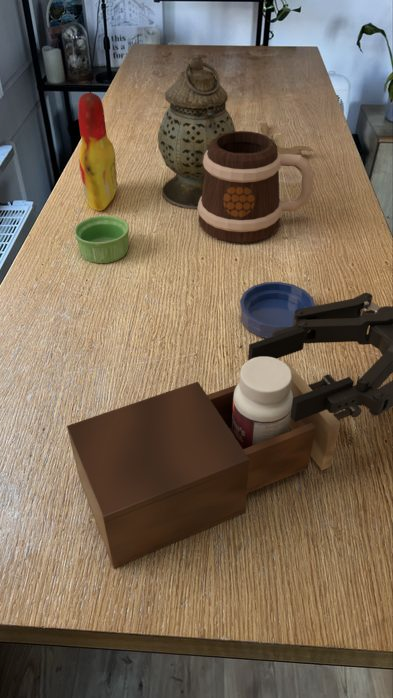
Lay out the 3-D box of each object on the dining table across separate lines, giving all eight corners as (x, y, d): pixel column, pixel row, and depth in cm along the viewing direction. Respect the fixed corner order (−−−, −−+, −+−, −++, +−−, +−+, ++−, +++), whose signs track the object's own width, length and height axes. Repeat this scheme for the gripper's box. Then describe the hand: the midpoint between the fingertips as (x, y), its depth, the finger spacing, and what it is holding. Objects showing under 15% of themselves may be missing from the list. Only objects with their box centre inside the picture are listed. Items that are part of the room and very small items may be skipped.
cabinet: (198, 435, 70) (197, 381, 64) (245, 512, 62) (249, 459, 56) (79, 479, 65) (66, 425, 59) (113, 568, 57) (102, 517, 51)
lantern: (235, 178, 120) (240, 44, 103) (231, 212, 109) (236, 69, 92) (166, 175, 121) (160, 42, 104) (156, 209, 110) (148, 67, 93)
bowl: (327, 328, 84) (329, 314, 82) (262, 349, 81) (263, 335, 79) (288, 288, 91) (289, 275, 89) (227, 307, 88) (227, 293, 86)
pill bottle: (224, 430, 68) (227, 357, 60) (275, 419, 69) (283, 347, 61) (240, 472, 63) (245, 400, 56) (294, 461, 64) (306, 388, 57)
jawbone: (278, 169, 123) (278, 160, 122) (230, 136, 137) (230, 127, 136) (314, 157, 126) (314, 148, 125) (264, 126, 140) (263, 117, 138)
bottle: (111, 216, 108) (99, 106, 95) (78, 215, 109) (60, 105, 95) (123, 187, 117) (112, 82, 104) (91, 186, 118) (77, 81, 104)
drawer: (315, 391, 74) (323, 348, 69) (366, 451, 66) (379, 407, 62) (181, 441, 68) (179, 397, 63) (221, 512, 61) (223, 469, 56)
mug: (196, 246, 101) (195, 162, 91) (198, 203, 112) (198, 124, 102) (313, 246, 100) (325, 162, 90) (303, 204, 111) (313, 124, 101)
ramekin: (142, 250, 100) (140, 227, 97) (101, 272, 95) (98, 249, 92) (107, 231, 104) (104, 209, 101) (67, 252, 99) (62, 229, 97)
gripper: (392, 246, 71) (224, 296, 64) (531, 349, 57) (336, 428, 50) (379, 296, 76) (223, 348, 69) (505, 402, 62) (324, 481, 55)
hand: (271, 381), depth 59 cm, fingers open, 8 cm apart
